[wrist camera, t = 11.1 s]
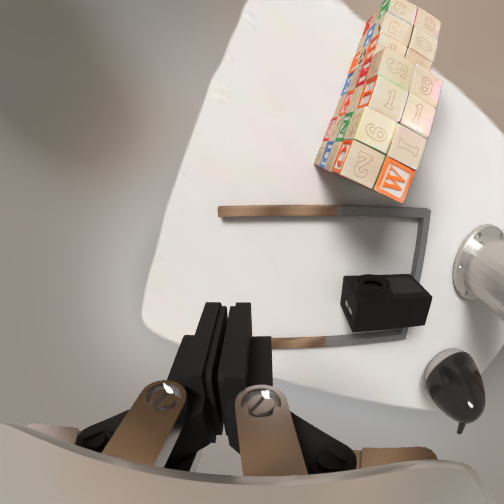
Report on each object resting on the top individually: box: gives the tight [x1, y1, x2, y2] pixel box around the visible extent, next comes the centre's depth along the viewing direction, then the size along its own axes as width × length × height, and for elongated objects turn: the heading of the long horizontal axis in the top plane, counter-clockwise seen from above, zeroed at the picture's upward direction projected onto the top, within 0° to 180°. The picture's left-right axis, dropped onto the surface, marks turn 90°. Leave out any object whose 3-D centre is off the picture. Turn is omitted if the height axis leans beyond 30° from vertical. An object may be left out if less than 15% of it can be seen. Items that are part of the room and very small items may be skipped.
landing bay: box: [325, 205, 431, 347], centre depth 37 cm, size 13×20×1 cm, turn 2°
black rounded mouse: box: [425, 349, 485, 434], centre depth 36 cm, size 10×10×15 cm
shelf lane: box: [218, 205, 339, 349], centre depth 37 cm, size 14×20×1 cm
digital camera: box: [340, 274, 432, 332], centre depth 34 cm, size 10×5×7 cm, turn 91°
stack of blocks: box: [314, 0, 443, 203], centre depth 24 cm, size 21×6×12 cm, turn 161°
